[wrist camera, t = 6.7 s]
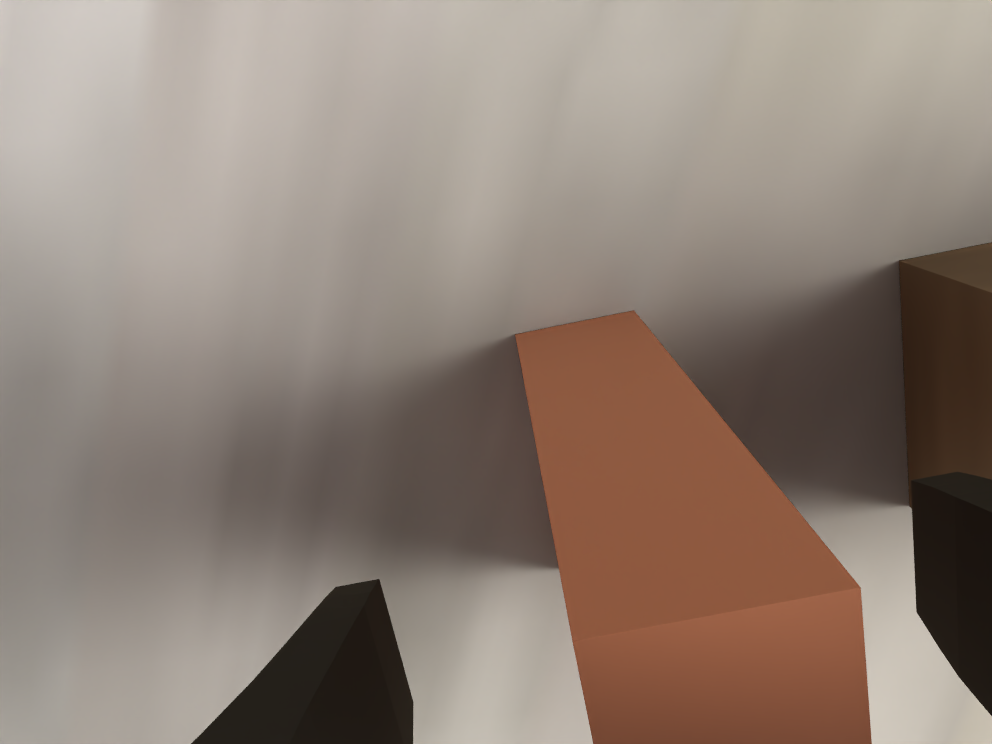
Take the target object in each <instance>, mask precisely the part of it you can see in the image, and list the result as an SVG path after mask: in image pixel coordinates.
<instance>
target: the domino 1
mask: <svg viewBox="0 0 992 744" xmlns="http://www.w3.org/2000/svg"><path fill="white" fill-rule="evenodd" d="M515 337H516V342H517V347H518V353H519V358H520V363H521V369H522V374H523V379H524V385H525V390H526V395H527V401H528V406H529V411H530V417H531V422H532V427H533V433H534V438H535V443H536V449H537V454H538V459H539V465H540V470H541V475H542V481H543V486H544V491H545V497H546V502H547V507H548V513H549V518H550V523H551V529H552V534H553V539H554V545H555V550H556V555H557V561H558V566H559V571H560V577H561V582H562V587H563V593H564V598H565V603H566V609H567V614H568V619H569V625H570V630H571V635H572V641H573V646H574V651H575V655H576V660H577V665H578V670H579V675H580V680H581V685H582V690H583V695H584V700H585V705H586V710H587V714H588V719H589V724H590V729H591V734H592V739H593V744H872V742H871V728H870V714H869V700H868V686H867V672H866V658H865V644H864V630H863V616H862V602H861V588H860V586H859V585H858V584H857V583H856V581H855V580H854V579H853V578H852V576H851V575H850V574H849V573H848V572H847V570H846V569H845V568H844V567H843V565H842V564H841V563H840V562H839V561H838V559H837V558H836V557H835V556H834V554H833V553H832V552H831V551H830V550H829V548H828V547H827V546H826V545H825V543H824V542H823V541H822V540H821V539H820V537H819V536H818V535H817V534H816V532H815V531H814V530H813V529H812V528H811V526H810V525H809V524H808V523H807V521H806V520H805V519H804V518H803V517H802V515H801V514H800V513H799V512H798V510H797V509H796V508H795V507H794V506H793V504H792V503H791V502H790V501H789V499H788V498H787V497H786V496H785V495H784V493H783V492H782V491H781V490H780V488H779V487H778V486H777V485H776V484H775V482H774V481H773V480H772V479H771V477H770V476H769V475H768V474H767V473H766V471H765V470H764V469H763V468H762V466H761V465H760V464H759V463H758V462H757V460H756V459H755V458H754V457H753V455H752V454H751V453H750V452H749V451H748V449H747V448H746V447H745V446H744V444H743V443H742V442H741V441H740V440H739V438H738V437H737V436H736V435H735V433H734V432H733V431H732V430H731V429H730V427H729V426H728V425H727V424H726V422H725V421H724V420H723V419H722V418H721V416H720V415H719V414H718V413H717V411H716V410H715V409H714V408H713V407H712V405H711V404H710V403H709V402H708V400H707V399H706V398H705V397H704V396H703V394H702V393H701V392H700V391H699V389H698V388H697V387H696V386H695V385H694V383H693V382H692V381H691V380H690V378H689V377H688V376H687V375H686V374H685V372H684V371H683V370H682V369H681V367H680V366H679V365H678V364H677V363H676V361H675V360H674V359H673V358H672V356H671V355H670V354H669V353H668V352H667V350H666V349H665V348H664V347H663V345H662V344H661V343H660V342H659V341H658V339H657V338H656V337H655V336H654V334H653V333H652V332H651V331H650V330H649V328H648V327H647V326H646V325H645V323H644V322H643V321H642V320H641V319H640V317H639V316H638V315H637V314H636V312H635V311H629V312H624V313H619V314H614V315H609V316H604V317H599V318H594V319H589V320H584V321H579V322H574V323H569V324H564V325H559V326H554V327H549V328H545V329H540V330H535V331H530V332H525V333H520V334H515Z"/></svg>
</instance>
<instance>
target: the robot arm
mask: <svg viewBox="0 0 992 744" xmlns="http://www.w3.org/2000/svg"><path fill="white" fill-rule="evenodd" d="M911 494H912V517H913V540H914V563H915V586H916V609H917V613H918V615H919V616H920V618H921V620H922V621H923V623H924V624H925V626H926V628H927V629H928V631H929V632H930V634H931V635H932V637H933V639H934V640H935V642H936V643H937V645H938V647H939V648H940V650H941V651H942V653H943V654H944V656H945V657H946V658H947V660H948V661H949V663H950V664H951V666H952V667H953V669H954V670H955V672H956V673H957V675H958V676H959V678H960V679H961V680H962V681H963V682H964V684H965V685H966V686H967V687H968V688H969V690H970V691H971V692H972V693H973V694H974V696H975V697H976V698H977V699H978V700H979V702H980V703H981V704H982V705H983V706H984V707H985V709H986V710H987V711H988V712H989V713H990V715H991V716H992V480H991V479H987V478H984V477H980V476H976V475H971V474H967V473H962V472H953V473H947V474H942V475H936V476H931V477H926V478H920V479H915V480H911ZM191 744H413V699H412V696H411V692H410V689H409V685H408V681H407V678H406V674H405V670H404V667H403V663H402V660H401V656H400V652H399V649H398V645H397V641H396V638H395V634H394V631H393V627H392V623H391V620H390V616H389V613H388V609H387V605H386V602H385V598H384V594H383V591H382V587H381V584H380V580H379V579H377V580H372V581H366V582H361V583H355V584H350V585H345V586H339V587H335V588H334V589H333V590H332V591H331V592H330V593H329V594H328V596H327V597H326V598H325V599H324V600H323V601H322V602H321V603H320V604H319V606H318V607H317V608H316V609H315V610H314V611H313V612H312V614H311V615H310V616H309V617H308V618H307V619H306V621H305V622H304V623H303V624H302V625H301V626H300V628H299V629H298V630H297V631H296V632H295V633H294V634H293V636H292V637H291V638H290V639H289V640H288V641H287V643H286V644H285V645H284V646H283V647H282V648H281V649H280V650H279V652H278V653H277V654H276V655H275V656H274V657H273V658H272V660H271V661H270V662H269V663H268V664H267V665H266V666H265V667H264V669H263V670H262V671H261V672H260V673H259V674H258V675H257V677H256V678H255V679H254V680H253V681H252V682H251V683H250V684H249V685H248V686H247V687H246V688H245V689H244V690H243V691H242V692H241V693H240V694H239V695H238V696H237V697H236V699H235V700H234V701H233V702H232V703H231V704H230V705H229V706H228V707H227V708H226V709H225V710H224V711H223V712H222V713H221V714H220V715H219V716H218V717H217V718H216V719H215V720H214V721H213V722H212V723H211V724H210V725H209V726H208V727H207V728H206V729H205V731H204V732H203V733H202V734H201V735H200V736H199V737H198V738H197V739H195V740H194V741H193V742H192V743H191Z"/></svg>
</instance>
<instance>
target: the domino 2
mask: <svg viewBox="0 0 992 744" xmlns="http://www.w3.org/2000/svg"><path fill="white" fill-rule="evenodd" d="M899 271H900V294H901V318H902V341H903V365H904V388H905V411H906V435H907V458H908V481H909V505H910V507H911V508H912V494H911V480H915V479H920V478H926V477H931V476H936V475H942V474H947V473H953V472H962V473H967V474H971V475H976V476H980V477H984V478H987V479H991V480H992V243H987V244H982V245H977V246H972V247H966V248H961V249H956V250H951V251H946V252H941V253H936V254H931V255H926V256H921V257H916V258H911V259H905V260H900V261H899Z"/></svg>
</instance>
